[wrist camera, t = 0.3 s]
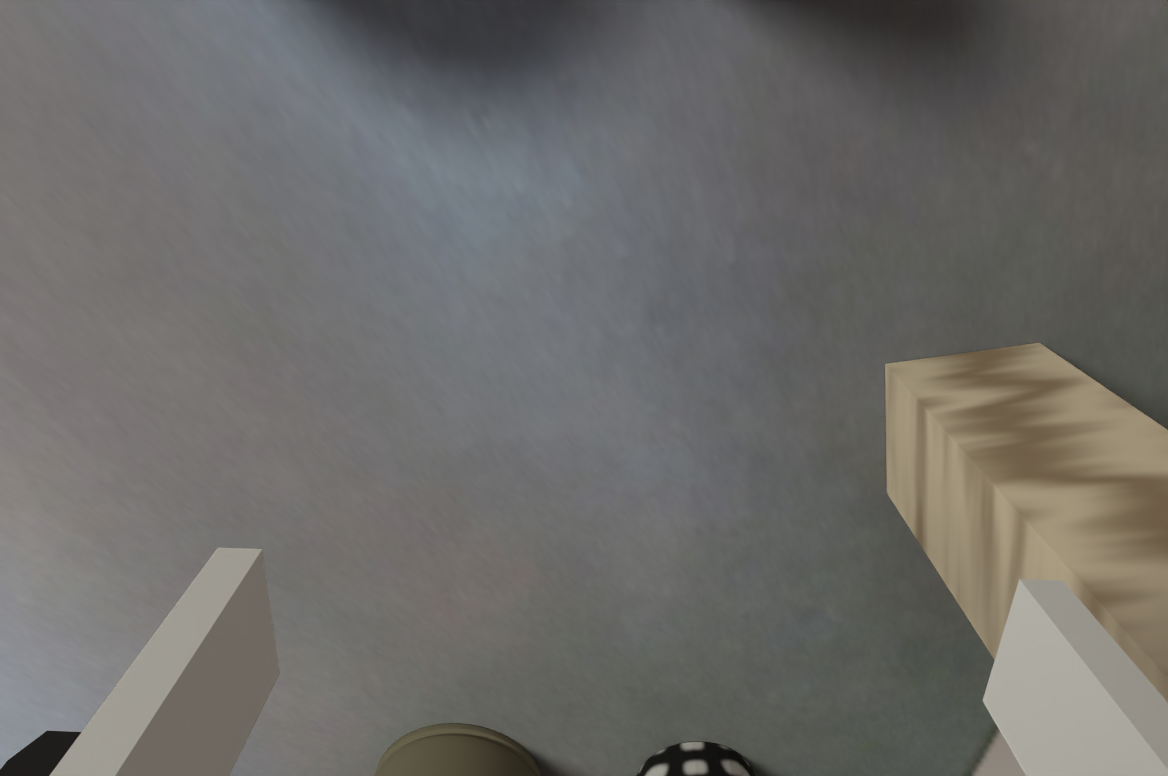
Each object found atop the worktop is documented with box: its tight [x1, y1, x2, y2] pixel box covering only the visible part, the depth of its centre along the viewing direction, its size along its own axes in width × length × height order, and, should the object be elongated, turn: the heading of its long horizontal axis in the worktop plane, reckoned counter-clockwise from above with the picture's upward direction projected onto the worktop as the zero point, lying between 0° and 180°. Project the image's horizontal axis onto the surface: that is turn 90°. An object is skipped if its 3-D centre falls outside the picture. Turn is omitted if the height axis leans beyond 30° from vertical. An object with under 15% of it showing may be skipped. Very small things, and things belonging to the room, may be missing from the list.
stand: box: [885, 343, 1168, 702], centre depth 30 cm, size 10×10×32 cm
